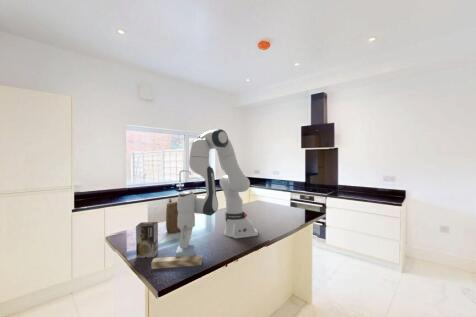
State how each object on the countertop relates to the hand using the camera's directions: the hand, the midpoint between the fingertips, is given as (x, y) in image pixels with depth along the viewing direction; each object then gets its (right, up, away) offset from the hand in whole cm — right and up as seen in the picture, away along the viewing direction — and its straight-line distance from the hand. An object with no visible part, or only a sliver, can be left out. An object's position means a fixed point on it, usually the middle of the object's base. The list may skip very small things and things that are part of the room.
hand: (186, 249), depth 109 cm
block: (-17, -3, +35) cm, 39 cm away
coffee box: (-20, -3, -1) cm, 20 cm away
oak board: (-1, -2, -12) cm, 12 cm away
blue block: (+1, -2, -5) cm, 6 cm away
